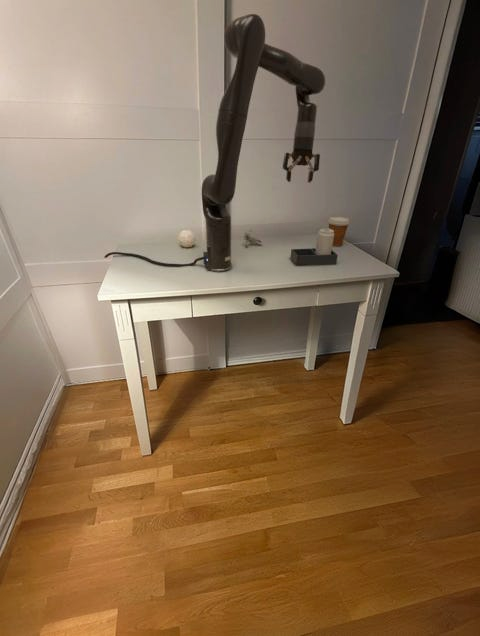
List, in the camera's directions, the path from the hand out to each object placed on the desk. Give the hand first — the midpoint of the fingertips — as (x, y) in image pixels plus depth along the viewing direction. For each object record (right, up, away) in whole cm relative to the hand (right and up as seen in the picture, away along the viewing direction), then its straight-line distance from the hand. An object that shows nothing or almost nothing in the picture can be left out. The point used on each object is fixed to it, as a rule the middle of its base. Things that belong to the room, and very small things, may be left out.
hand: (299, 182), depth 127 cm
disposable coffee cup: (+21, -20, +23) cm, 37 cm away
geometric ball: (-48, -23, +17) cm, 56 cm away
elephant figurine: (-19, -21, +21) cm, 35 cm away
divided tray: (+6, -32, +3) cm, 33 cm away
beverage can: (+10, -31, +3) cm, 33 cm away
